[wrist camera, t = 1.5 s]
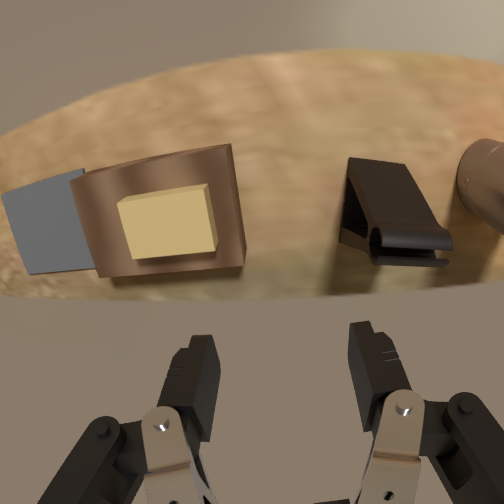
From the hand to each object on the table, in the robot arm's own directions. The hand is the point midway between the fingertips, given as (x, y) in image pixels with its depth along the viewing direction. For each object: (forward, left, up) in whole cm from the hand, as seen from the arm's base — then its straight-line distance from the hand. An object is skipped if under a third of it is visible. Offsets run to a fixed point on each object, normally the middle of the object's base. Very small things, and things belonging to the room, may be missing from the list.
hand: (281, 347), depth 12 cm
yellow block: (+9, -3, -17) cm, 20 cm away
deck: (+11, -4, -21) cm, 24 cm away
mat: (+26, -9, -21) cm, 35 cm away
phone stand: (-9, +5, -22) cm, 24 cm away
